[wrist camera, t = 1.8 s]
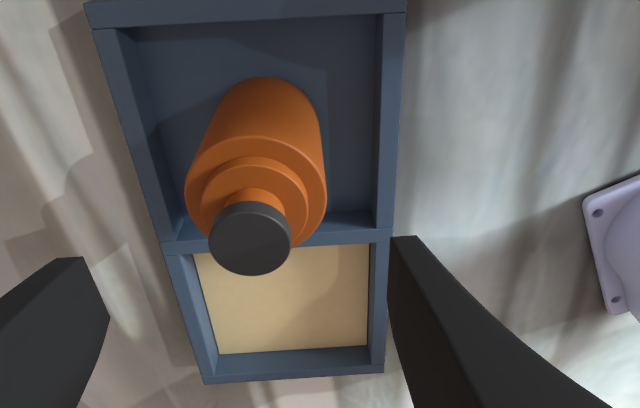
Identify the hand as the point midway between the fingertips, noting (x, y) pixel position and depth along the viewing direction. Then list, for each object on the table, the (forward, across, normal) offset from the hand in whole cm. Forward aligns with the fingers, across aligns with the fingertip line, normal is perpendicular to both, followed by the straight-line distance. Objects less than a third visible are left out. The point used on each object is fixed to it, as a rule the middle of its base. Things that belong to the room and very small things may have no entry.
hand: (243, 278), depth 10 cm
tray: (+10, 0, +5) cm, 11 cm away
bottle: (+9, 0, 0) cm, 9 cm away
